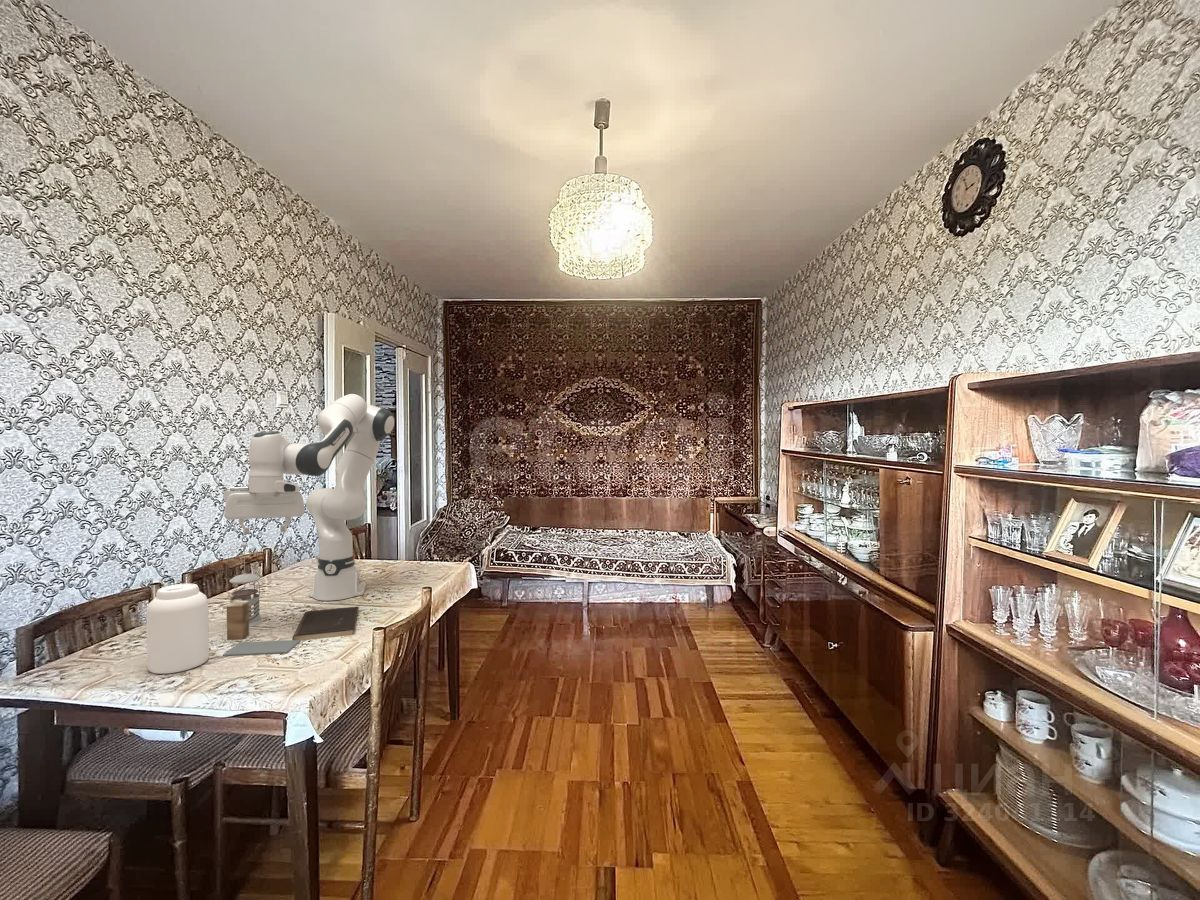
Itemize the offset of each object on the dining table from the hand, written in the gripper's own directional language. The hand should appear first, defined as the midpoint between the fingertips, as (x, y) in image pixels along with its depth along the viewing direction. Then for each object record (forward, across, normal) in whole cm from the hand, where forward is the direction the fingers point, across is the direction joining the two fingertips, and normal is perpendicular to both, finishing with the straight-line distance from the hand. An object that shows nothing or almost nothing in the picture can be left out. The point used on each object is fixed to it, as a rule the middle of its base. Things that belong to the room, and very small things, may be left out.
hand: (265, 533), depth 165 cm
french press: (+30, -4, +15) cm, 34 cm away
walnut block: (+30, -6, +1) cm, 30 cm away
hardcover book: (+30, +17, -2) cm, 34 cm away
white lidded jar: (+30, -19, -14) cm, 39 cm away
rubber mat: (+30, 0, -13) cm, 32 cm away
